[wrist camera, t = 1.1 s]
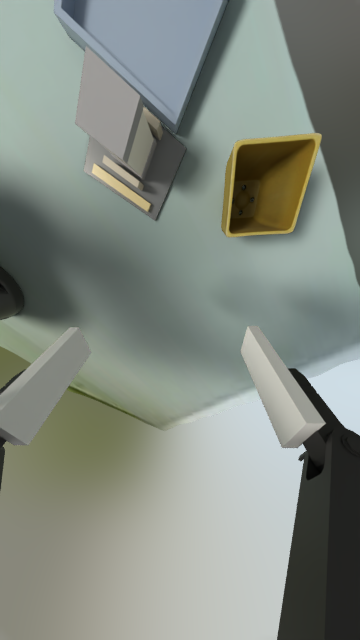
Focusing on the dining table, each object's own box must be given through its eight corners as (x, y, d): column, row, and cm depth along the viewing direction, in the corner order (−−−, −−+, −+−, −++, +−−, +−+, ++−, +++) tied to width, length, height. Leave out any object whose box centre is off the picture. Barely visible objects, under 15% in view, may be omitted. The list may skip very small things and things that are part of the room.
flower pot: (277, 160, 22) (325, 131, 15) (263, 229, 27) (293, 233, 20) (217, 165, 23) (234, 139, 15) (213, 232, 28) (225, 237, 20)
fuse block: (85, 171, 23) (71, 165, 20) (103, 75, 18) (88, 48, 16) (155, 220, 27) (152, 220, 24) (186, 149, 22) (186, 139, 19)
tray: (69, 37, 17) (53, 12, 15) (93, -190, 12) (73, -278, 10) (176, 134, 21) (175, 124, 19) (230, -4, 16) (237, -38, 14)
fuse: (115, 158, 22) (75, 123, 14) (126, 117, 20) (85, 45, 12) (143, 180, 23) (122, 159, 15) (156, 143, 21) (140, 95, 13)
